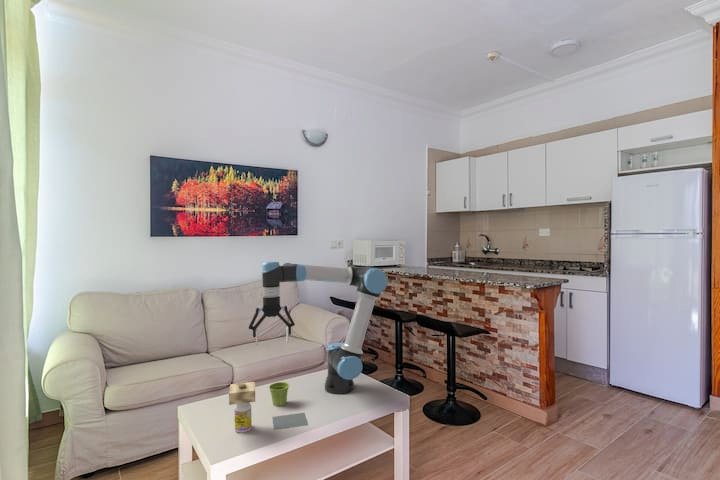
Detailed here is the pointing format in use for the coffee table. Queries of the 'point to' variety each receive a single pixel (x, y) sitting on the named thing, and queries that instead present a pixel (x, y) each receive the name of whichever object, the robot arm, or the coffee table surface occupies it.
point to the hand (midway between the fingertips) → (272, 342)
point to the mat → (289, 421)
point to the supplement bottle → (243, 417)
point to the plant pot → (279, 393)
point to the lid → (242, 393)
